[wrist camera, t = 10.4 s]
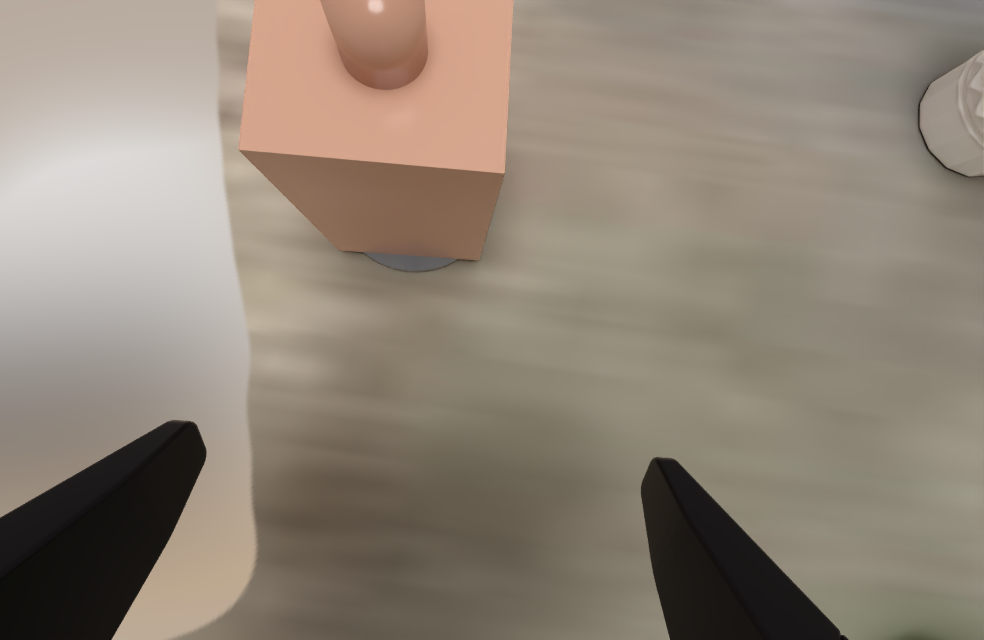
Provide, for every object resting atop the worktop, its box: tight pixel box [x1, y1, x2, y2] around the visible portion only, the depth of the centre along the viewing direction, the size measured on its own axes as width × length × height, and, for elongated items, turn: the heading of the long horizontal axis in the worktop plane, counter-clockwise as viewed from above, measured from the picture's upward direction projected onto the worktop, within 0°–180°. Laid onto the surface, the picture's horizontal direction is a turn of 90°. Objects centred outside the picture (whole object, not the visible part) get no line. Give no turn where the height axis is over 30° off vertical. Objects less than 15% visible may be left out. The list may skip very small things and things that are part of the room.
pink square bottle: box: [238, 0, 513, 260], centre depth 16 cm, size 6×7×13 cm
